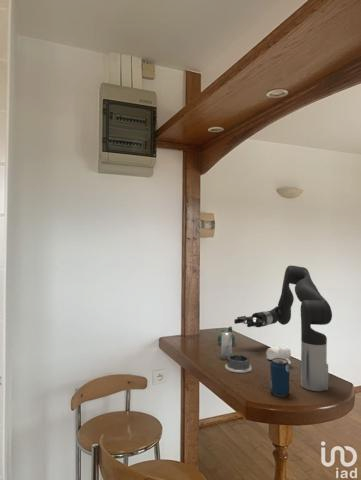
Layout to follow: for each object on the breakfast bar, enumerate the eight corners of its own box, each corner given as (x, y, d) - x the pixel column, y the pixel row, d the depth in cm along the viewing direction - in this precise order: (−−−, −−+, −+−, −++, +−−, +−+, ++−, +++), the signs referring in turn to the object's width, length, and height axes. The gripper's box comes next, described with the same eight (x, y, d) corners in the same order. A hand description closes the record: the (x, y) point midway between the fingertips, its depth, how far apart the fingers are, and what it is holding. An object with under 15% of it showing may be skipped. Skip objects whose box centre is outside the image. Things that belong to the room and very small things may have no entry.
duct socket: (250, 364, 160) (250, 354, 160) (252, 373, 148) (252, 363, 148) (224, 363, 161) (225, 353, 161) (225, 372, 150) (225, 361, 150)
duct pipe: (231, 356, 171) (231, 331, 172) (231, 359, 166) (232, 334, 167) (221, 355, 172) (221, 331, 172) (221, 359, 167) (221, 333, 167)
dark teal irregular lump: (231, 342, 197) (231, 326, 197) (236, 346, 188) (236, 330, 188) (216, 342, 195) (216, 326, 196) (220, 347, 186) (220, 330, 187)
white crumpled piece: (265, 366, 167) (280, 364, 153) (262, 347, 170) (277, 344, 157) (281, 365, 169) (298, 363, 156) (278, 346, 172) (294, 343, 159)
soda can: (293, 394, 128) (293, 361, 128) (280, 398, 124) (280, 364, 125) (278, 387, 134) (279, 356, 134) (265, 391, 130) (266, 359, 130)
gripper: (251, 309, 192) (230, 313, 182) (273, 314, 180) (252, 318, 170) (251, 323, 192) (230, 327, 182) (273, 328, 180) (252, 333, 170)
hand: (241, 323), depth 176 cm, fingers open, 8 cm apart
